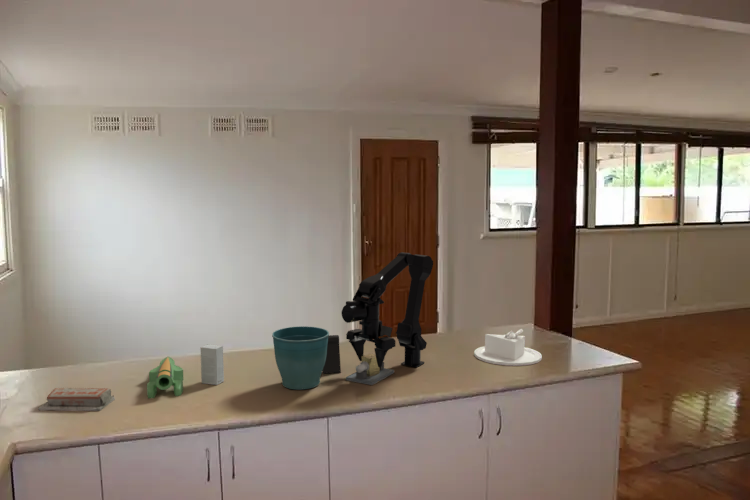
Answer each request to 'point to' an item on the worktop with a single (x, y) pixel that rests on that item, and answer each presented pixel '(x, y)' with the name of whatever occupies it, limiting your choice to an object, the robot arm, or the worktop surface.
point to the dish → (507, 350)
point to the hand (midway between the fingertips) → (370, 363)
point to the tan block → (371, 364)
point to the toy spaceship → (165, 378)
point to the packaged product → (78, 399)
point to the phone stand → (332, 356)
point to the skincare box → (212, 364)
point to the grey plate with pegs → (362, 376)
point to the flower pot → (300, 355)
